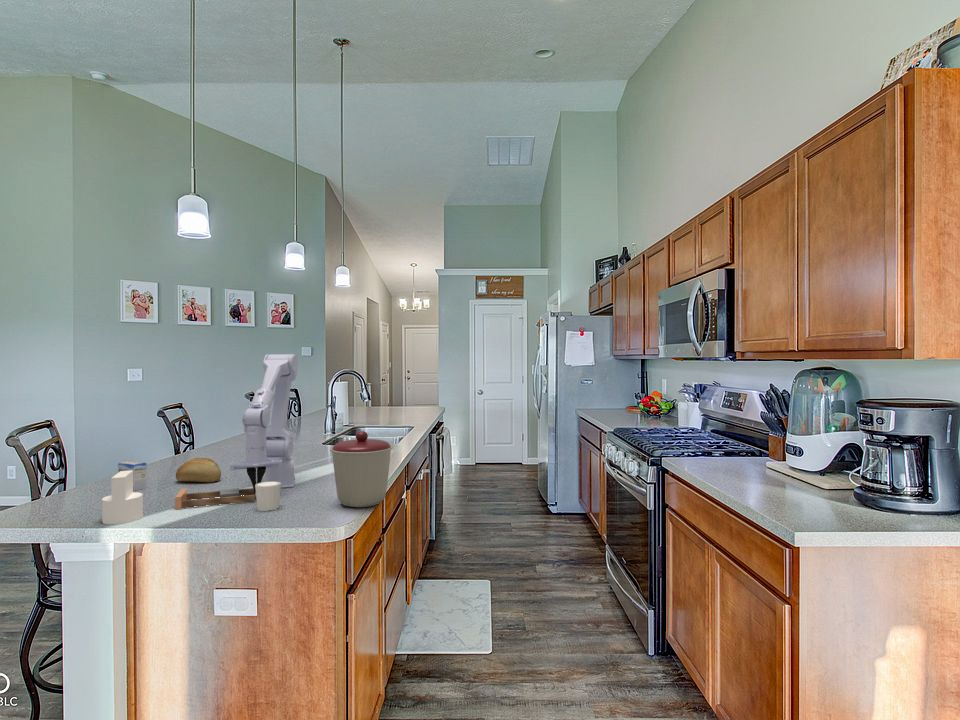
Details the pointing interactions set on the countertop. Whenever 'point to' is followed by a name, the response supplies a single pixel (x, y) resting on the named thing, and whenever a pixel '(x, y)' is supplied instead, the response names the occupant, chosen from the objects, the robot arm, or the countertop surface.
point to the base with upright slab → (122, 501)
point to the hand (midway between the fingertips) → (256, 492)
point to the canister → (361, 470)
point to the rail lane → (211, 498)
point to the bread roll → (199, 471)
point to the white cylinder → (268, 495)
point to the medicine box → (135, 473)
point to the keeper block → (229, 492)
